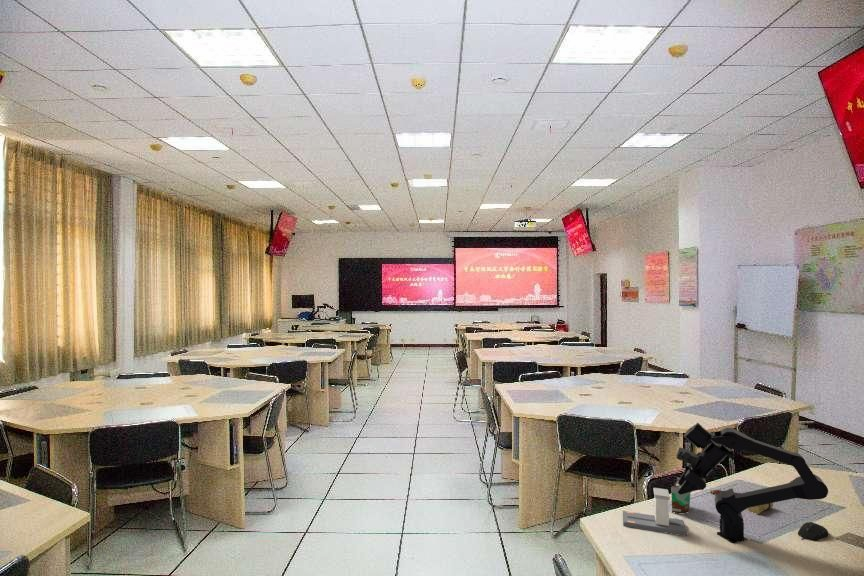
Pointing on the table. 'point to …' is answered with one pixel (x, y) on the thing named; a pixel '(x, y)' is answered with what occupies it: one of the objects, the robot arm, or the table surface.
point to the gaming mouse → (812, 531)
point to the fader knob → (661, 506)
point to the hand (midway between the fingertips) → (678, 488)
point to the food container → (679, 499)
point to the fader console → (653, 523)
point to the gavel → (752, 509)
